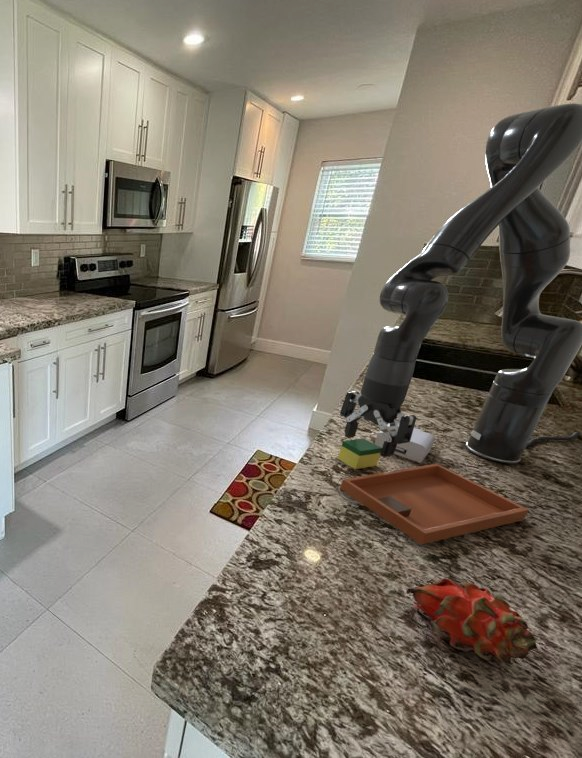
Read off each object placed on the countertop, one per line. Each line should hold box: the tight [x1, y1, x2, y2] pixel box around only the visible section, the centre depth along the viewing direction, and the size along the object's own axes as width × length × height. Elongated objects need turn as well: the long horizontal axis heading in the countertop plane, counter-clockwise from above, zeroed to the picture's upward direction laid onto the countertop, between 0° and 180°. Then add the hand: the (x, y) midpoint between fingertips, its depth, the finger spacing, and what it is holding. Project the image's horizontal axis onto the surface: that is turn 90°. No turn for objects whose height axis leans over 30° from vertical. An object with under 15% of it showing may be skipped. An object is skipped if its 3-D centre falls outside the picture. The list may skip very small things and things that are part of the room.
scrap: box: [377, 496, 411, 517], centre depth 75 cm, size 4×4×2 cm
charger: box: [374, 423, 436, 464], centre depth 99 cm, size 5×9×15 cm
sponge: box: [337, 437, 382, 470], centre depth 90 cm, size 6×4×5 cm
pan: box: [339, 463, 530, 545], centre depth 78 cm, size 26×16×3 cm, turn 106°
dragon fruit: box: [405, 577, 538, 666], centre depth 51 cm, size 8×8×12 cm
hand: (366, 446), depth 90 cm, fingers open, 8 cm apart
